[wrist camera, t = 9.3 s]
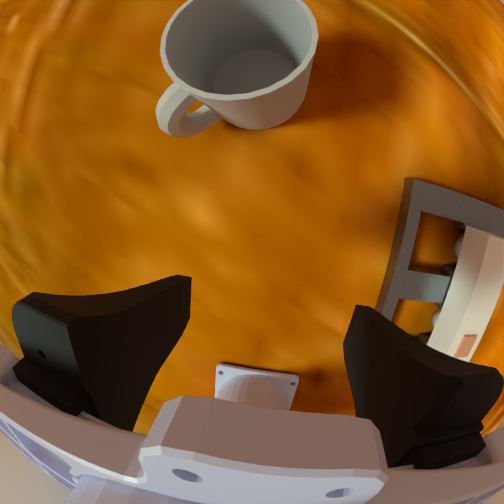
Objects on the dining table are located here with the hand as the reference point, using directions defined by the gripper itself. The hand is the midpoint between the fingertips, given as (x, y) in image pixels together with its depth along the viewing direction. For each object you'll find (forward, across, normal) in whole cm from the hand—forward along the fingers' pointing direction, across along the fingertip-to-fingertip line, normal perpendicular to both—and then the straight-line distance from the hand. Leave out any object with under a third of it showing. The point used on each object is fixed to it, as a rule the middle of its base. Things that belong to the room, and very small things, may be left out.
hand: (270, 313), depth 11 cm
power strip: (+10, -17, 0) cm, 19 cm away
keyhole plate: (+10, -15, +1) cm, 18 cm away
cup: (+10, +4, -11) cm, 16 cm away
